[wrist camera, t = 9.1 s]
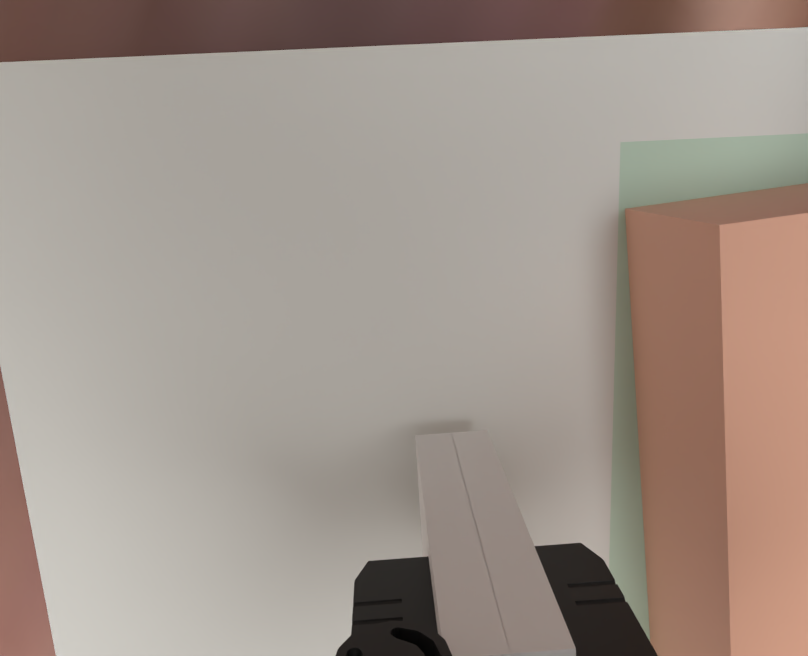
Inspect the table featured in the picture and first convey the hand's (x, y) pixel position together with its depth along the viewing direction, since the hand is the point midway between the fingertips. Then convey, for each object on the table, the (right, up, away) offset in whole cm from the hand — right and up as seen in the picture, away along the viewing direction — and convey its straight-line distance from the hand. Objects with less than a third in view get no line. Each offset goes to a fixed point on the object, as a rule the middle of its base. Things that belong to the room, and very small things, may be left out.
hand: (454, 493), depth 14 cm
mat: (+5, +1, +2) cm, 5 cm away
